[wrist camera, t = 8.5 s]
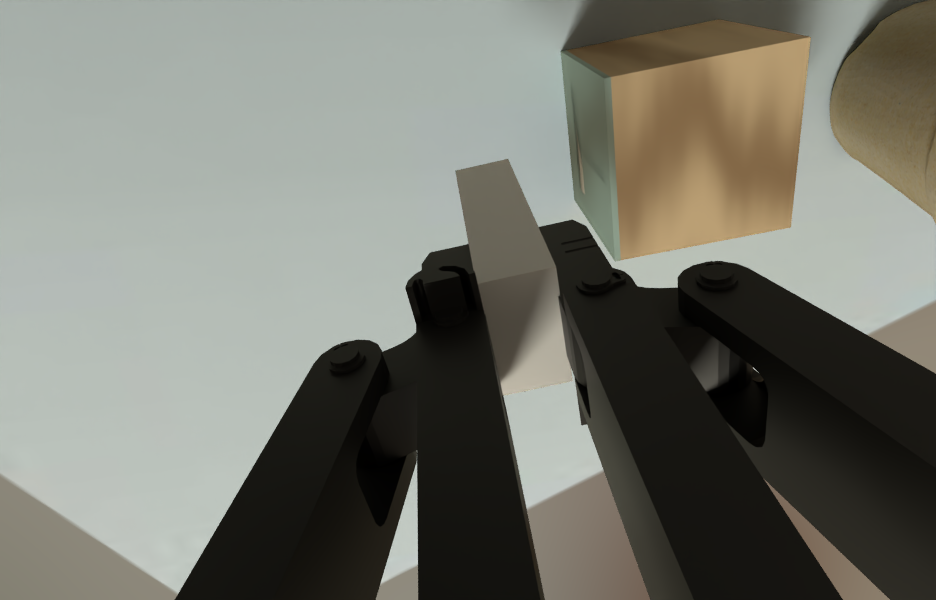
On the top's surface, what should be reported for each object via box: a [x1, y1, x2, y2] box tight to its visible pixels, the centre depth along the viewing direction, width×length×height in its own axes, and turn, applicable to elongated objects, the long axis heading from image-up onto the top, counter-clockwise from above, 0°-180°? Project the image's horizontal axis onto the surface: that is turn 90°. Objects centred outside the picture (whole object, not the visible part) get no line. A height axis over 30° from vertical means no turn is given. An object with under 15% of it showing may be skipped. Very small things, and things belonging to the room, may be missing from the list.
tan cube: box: [561, 19, 811, 261], centre depth 21 cm, size 6×6×6 cm
